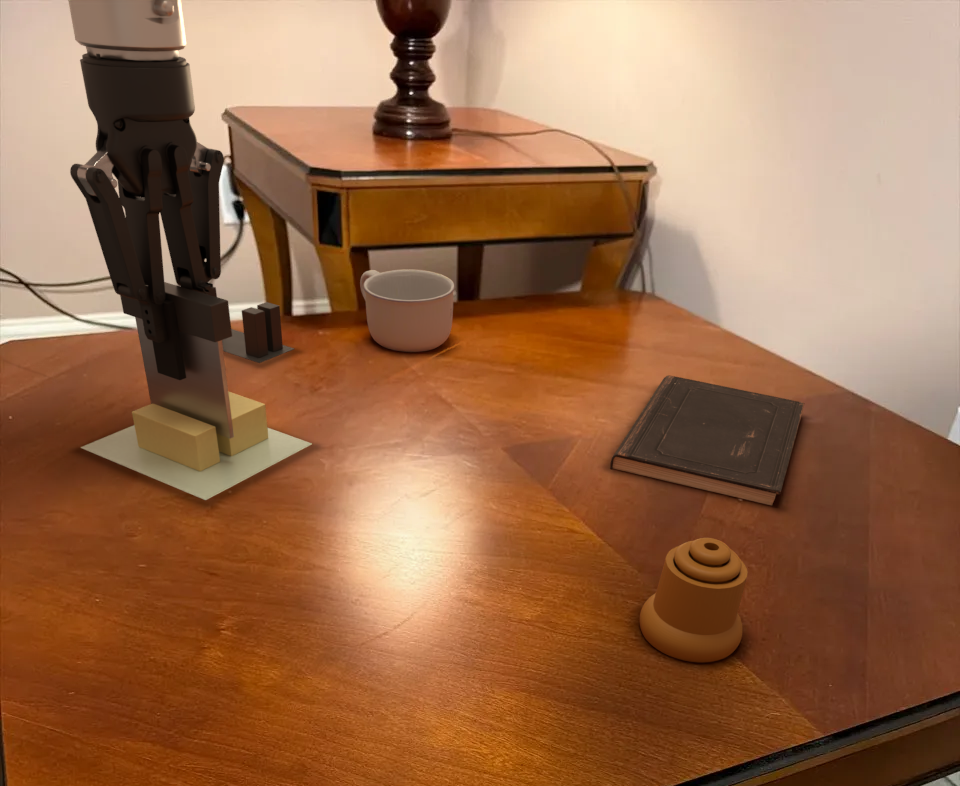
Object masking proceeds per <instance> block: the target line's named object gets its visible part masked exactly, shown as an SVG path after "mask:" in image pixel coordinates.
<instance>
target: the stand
mask: <svg viewBox="0 0 960 786" xmlns="http://www.w3.org/2000/svg"><path fill="white" fill-rule="evenodd" d="M204 294H207V293H204ZM208 295H211V296H214V297H218V294H217V288H216V286H213V289H212V291H211V292H210V293H208ZM241 319H242V328H243V332H242V331H239V330H236V329H233V328H231V330H232V337H229V338H226V339H224V340H222V345H223V353H227V354H230V355H234V356H236V357H238V358H239V357H240V358H243V359H246V360H249V361H251V362H255V363H258V364H262V363H264V362H266V361H268V360H271V359H274V358H276V357H279V356H281V355H284V354H286V353H288V352H291V351H294V350H295V348H294V347H291V346H287V345H284V344H283V333H282V321H281V307H280V305H278V304H274V303H272V302H268V301H266V302H262V303H259V304H257V305H256V308H255V307H253V306H250V307H247V308H245V309H242V310H241Z"/></svg>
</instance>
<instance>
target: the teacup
mask: <svg viewBox="0 0 960 786" xmlns="http://www.w3.org/2000/svg"><path fill="white" fill-rule="evenodd" d="M359 281H360V282H359V286H360V292H361V295H362V298H363V299H364V301H365V312H366V322H367V328H368V332H369V334H370V336H371V337H372V339H373V341H375V342H376V343H377V344H378V345H379V346H382V347H383V348H385V349H388V350H391V351H397V352H401V353H422V352H428V351H432V350H434V349H436V348H438V347H440V346H441V345H443V344H445V342H446V341H447V340H448V338H449V337H450V335H451V332H452V327H453V317H454V292H455V283H454V281H453V280H452V279H451V278H450V277H447V276H446V275H444V274H441V273H438V272H434V271H429V270H424V269H414V268H413V269H412V268H411V269H409V268H408V269H407V268H405V269H393V270H386V271H383V272H380V271H378V270H376V269H370V270H366V271H364V272H363V274H362V275H361V277H360V280H359Z"/></svg>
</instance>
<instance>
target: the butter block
mask: <svg viewBox="0 0 960 786" xmlns="http://www.w3.org/2000/svg"><path fill="white" fill-rule="evenodd" d="M228 393H229V401H230V409H231V417H232V425H233V433H234V437H233V438H231V439H230V438H227V437H224V436H222V435H219V434H216V435H217V442H218V449H219V452H222V453H224V454H227V455H230V456H233V455H235V454H237V453H239V452H241V451H243V450H245V449H247V448H249V447H251V446H253V445H256V444H258V443H260V442H262V441H264V440H266V439H268V428H269V427H268V419H267V418H268V417H267V409H266V408H267V407H266V404H265V403H263V402H261V401H257V400H255V399H252V398H248V397H246V396H243V395H240V394H237V393H234V392H231V391H229V390H228ZM267 427H268V428H267Z"/></svg>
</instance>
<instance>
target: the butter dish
mask: <svg viewBox="0 0 960 786" xmlns="http://www.w3.org/2000/svg"><path fill="white" fill-rule="evenodd" d="M267 428H268V439H266V440H264V441H262V442H260V443H258V444H256V445H253V446H251V447H249V448H247V449H245V450H243V451H241V452H239V453H237V454H235V455H233V456H230V455H227V454H224V453H222V452H219V457H220V462H219V463H217V464H215V465H213V466H211V467H209V468H207V469H205V470H203V471H198V470H195V469H193V468H190V467H188V466H185V465H183V464H180V463H178V462H175V461H173V460H170V459H168V458H165V457H163V456H160V455H158V454H155V453H153V452H151V451H148V450H146V449H143V448H141V447H139V446H138V441H137V436H136V431H135V426H134V424H133V425H130V426H128V427H126V428H124V429H120V430H118V431H116V432H114V433H112V434H109V435H106V436H105V437H102V438H99V439H97V440H94V441H92V442H90V443H87V444H85V445H82V446H80V449H83V450H84V451H87V452H90V453H92V454H94V455H97V456H99V457H100V458H103V459H107V460H109V461H110V462H113V463H116V464H117V465H120V466H123V467H125V468H128V469H130V470H132V471H135V472H137V473H139V474H141V475H144V476H147V477H149V478H151V479H153V480H156V481H159V482H161V483H164V484H165V485H168V486H171V487H173V488H175V489H178V490H180V491H182V492H185V493H187V494H189V495H193V496H194V497H197V498H199V499H202V500H204V501H207V500H209V499H211V498H213V497H215V496H217V495H219V494H220V493H222V492H224V491H226V490H228V489H230V488H232V487H234V486H236V485H238V484H239V483H241V482H243V481H245V480H248V479H249V478H251V477H252V476H255V475H257V474H259V473H261V472H262V471H264V470H266V469H268V468H270V467H272V466H274V465H276V464H278V463H279V462H281V461H283V460H285V459H287V458H289V457H290V456H293V455H295V454H297V453H299V452H300V451H302V450H304V449H306V448H308V447H310V446H311V445H313V443H312V442H309V441H307V440H303V439H301V438H298V437H296V436H292V435H290V434H287V433H284V432H281V431H279V430H276V429H273V428H271V427H268V426H267Z"/></svg>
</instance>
